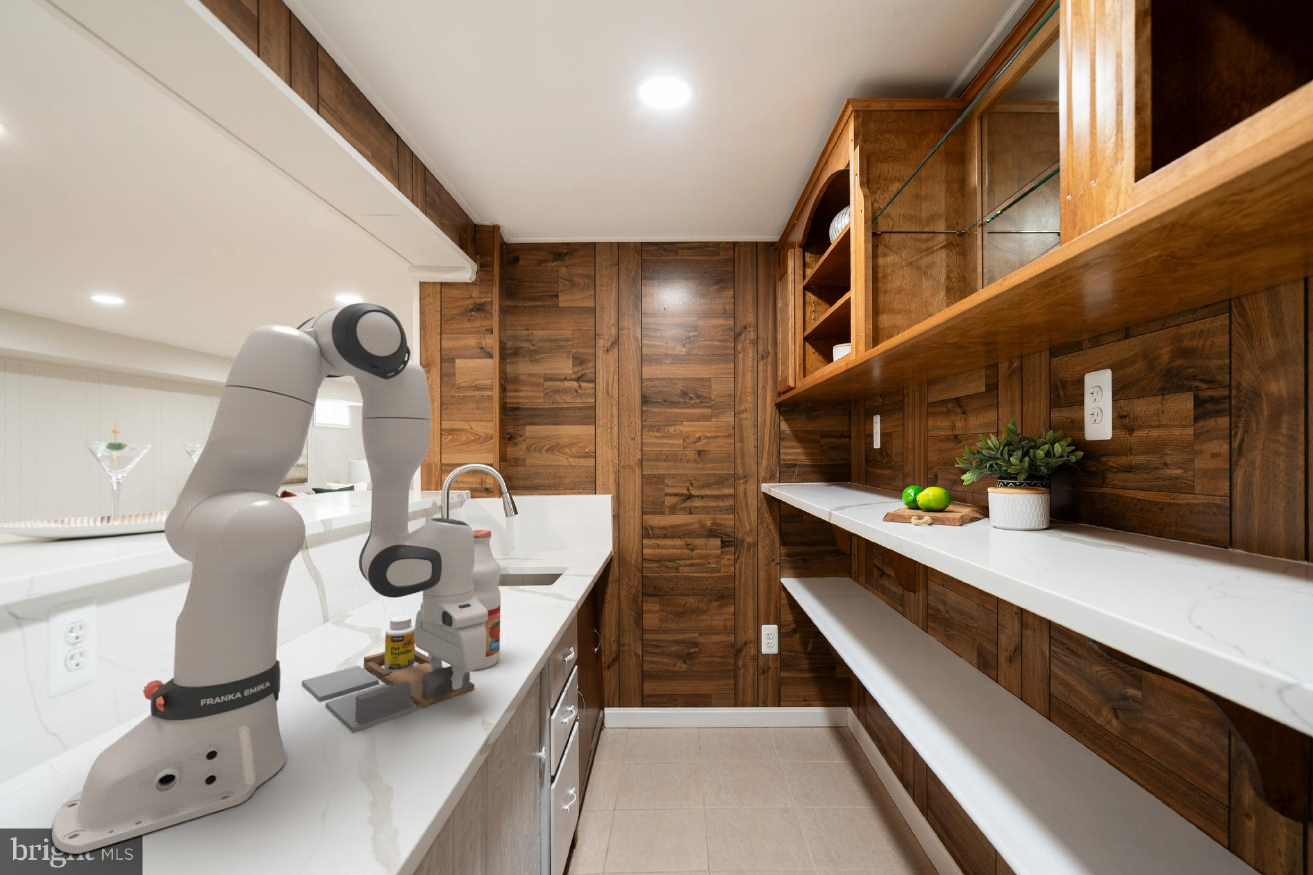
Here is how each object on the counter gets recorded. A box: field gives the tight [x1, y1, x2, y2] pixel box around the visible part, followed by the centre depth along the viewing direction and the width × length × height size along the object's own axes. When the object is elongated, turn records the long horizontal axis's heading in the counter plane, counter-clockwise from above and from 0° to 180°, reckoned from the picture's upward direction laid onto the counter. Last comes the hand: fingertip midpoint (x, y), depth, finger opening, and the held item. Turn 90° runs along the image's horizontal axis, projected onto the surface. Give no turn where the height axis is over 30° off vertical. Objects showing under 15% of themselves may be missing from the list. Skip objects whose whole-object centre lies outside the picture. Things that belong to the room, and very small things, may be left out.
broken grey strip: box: [301, 665, 417, 734], centre depth 96 cm, size 10×26×5 cm, turn 49°
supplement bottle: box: [383, 615, 416, 673], centre depth 109 cm, size 6×6×10 cm
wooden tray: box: [363, 645, 475, 708], centre depth 104 cm, size 10×26×5 cm, turn 49°
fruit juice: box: [472, 529, 502, 671], centre depth 113 cm, size 9×9×28 cm
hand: (446, 682), depth 96 cm, fingers open, 5 cm apart
